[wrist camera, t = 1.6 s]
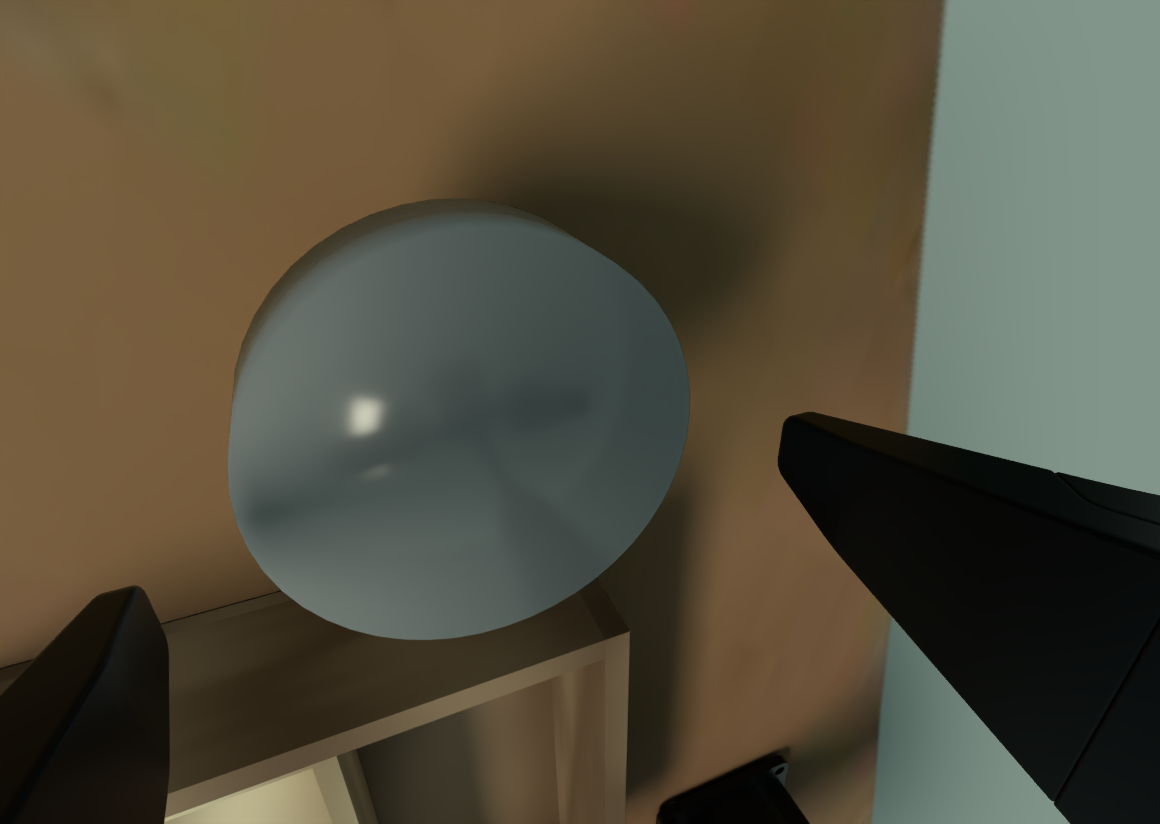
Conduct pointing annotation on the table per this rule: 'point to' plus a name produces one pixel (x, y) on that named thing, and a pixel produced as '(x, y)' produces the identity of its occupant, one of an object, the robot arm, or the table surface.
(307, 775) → the tray
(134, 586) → the robot arm
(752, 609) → the table surface
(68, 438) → the table surface
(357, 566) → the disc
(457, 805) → the housing
